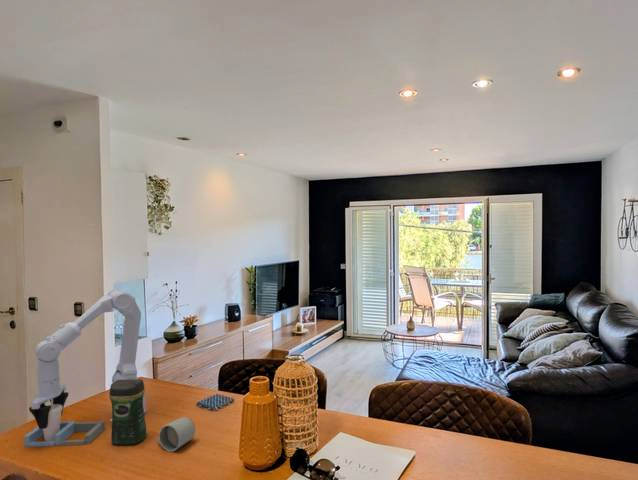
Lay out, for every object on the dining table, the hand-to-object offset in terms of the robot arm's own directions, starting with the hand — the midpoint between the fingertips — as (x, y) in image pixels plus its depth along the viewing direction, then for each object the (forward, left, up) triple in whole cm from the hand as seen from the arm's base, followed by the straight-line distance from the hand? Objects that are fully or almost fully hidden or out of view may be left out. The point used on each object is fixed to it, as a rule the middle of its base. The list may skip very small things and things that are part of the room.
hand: (50, 422), depth 133 cm
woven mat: (-46, -22, -6) cm, 52 cm away
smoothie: (0, 0, -5) cm, 5 cm away
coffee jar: (-25, +3, -5) cm, 26 cm away
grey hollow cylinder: (-40, +7, -5) cm, 41 cm away
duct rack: (-4, 0, -5) cm, 7 cm away
